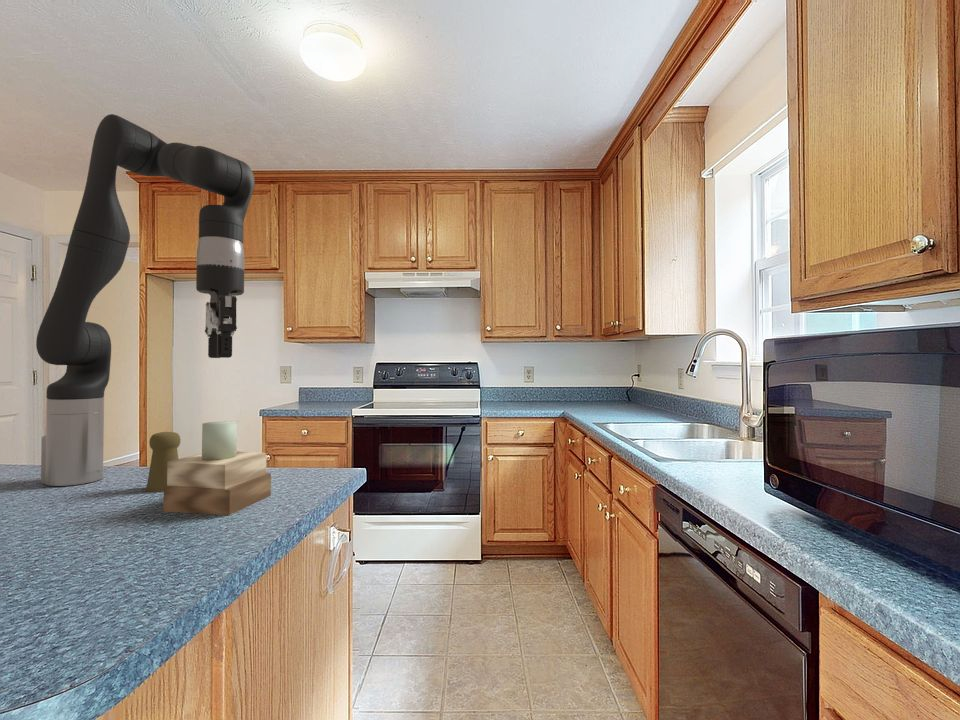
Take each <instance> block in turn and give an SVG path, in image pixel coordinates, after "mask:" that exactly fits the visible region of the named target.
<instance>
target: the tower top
mask: <svg viewBox="0 0 960 720" xmlns="http://www.w3.org/2000/svg"><path fill="white" fill-rule="evenodd" d="M266 473H267V452H258V451H257V452H255V451H238V450H236V457H233V458H229V459H221V460H205V459H202V453H198V454H193V455H190V456H185V457H182V458H178V459H177V460H173V461H169V462H167V486H182V487H197V488H213V489H227V488H230V487H232V486H235V485H238V484H241V483H244V482H246V481H249V480H252V479H255V478H257V477H260V476H263V475H266Z"/></svg>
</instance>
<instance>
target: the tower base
mask: <svg viewBox="0 0 960 720" xmlns="http://www.w3.org/2000/svg"><path fill="white" fill-rule="evenodd" d="M271 489H272V473H268V472H266V475H263V476H260V477H257V478H255V479H252V480H249V481H246V482H244V483H241V484H238V485H235V486H232V487H230V488H227V489H213V488H197V487H182V486H164V492H163V504H162V505H163V507H162V508H163V509H162V512H164V513H178V512H180V514H182V513H183V514H197V513H199V515H215V514H216V515H217V516H231V515H234V514H235V513H237V512H239V511H242V510H244V509H246V508H248V507H251V506H252V505H255V504H256V503H259V502H260V501H263V500H264V499H267V498H269V497H271V496H272V494H271V493H272V491H271ZM262 499H263V500H262ZM216 515H215V516H216Z"/></svg>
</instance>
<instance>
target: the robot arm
mask: <svg viewBox="0 0 960 720" xmlns="http://www.w3.org/2000/svg"><path fill="white" fill-rule="evenodd" d="M118 167H120V168H122V169H125V170H127V171H129V172H131V173H133V174H136V175H139V176H144V177H163V178H164V177H165V178H170V179H172V180H174V181H177V182H180V183H182V184H186V185H188V186H192V187H196V188H198V189H200V190H201V189H202V190H204V191H208V192H210V193H213V194H216V195H219V196H223V198H224V201H223V203H222V204H207V205H203V206H201V208H200V210H199V213H198V215H199V216H198V243H197V249H196V272H195V273H196V279H195V280H196V281H195V290H196V291H197V292H198V293H201V294H207V295H209V296H210V297H209V299H210V300H209V301H206V303H205V329H204V333H205V335H206V337H207V338H208V340H207V341H208V342H207V346H208V347H207V357H208V358H209V359H221V358H228V359H229V358H232V357H233V336H234V335H235V332H237V329H238V326H237V302H238V298H237V296H242V295H243V294H244V293H245V261H246V260H245V251H244V224H245V223H244V222H245V217H246V214H247V213H248V212H247V211H248V207H249V205H250V201H251V198H252V195H253V192H254V189H255V185H256V184H255V183H256V182H255V180H256V179H255V176H254V172H253V170H252V168H251V167H250V166H249V165H248V164H247V163H246V162H244V161H243V160H241V159H238V158H235V157H233V156H230V155H228V154H225V153H223V152H220V151H219V150H216V149H213V148H212V147H211V148H210V147H206V146H204V145H203V146H202V145H196V146H195V145H190V144H186V143H182V142H169V143H167V142H166V141H164V140H162V139H161V138H159V137H158V136H156V134H154V133H152V132H151V131H149V130H147V129H146V128H143V127H141V126H140V125H137V124H135V123H134V122H132V121H129V120H127V118H124V117H122V116H120V115H117V114H114V113H111V114H107V115H106V116H104V117H103V119H101V121H100V122H99V125H98V126H97V129H96V131H95V134H94V139H93V144H92V147H91V154H90V160H89V166H88V172H87V175H86V176H87V178H86V183H85V187H84V191H83V194H82V198H81V202H80V205H79V207H78V208H79V209H78V212H77V214H76V217H75V218H76V219H75V221H74V224H73V227H72V231H71V234H70V238H69V241H68V245H67V249H66V254H65V258H64V261H63V265H62V269H61V272H60V274H59V278H58V280H57V285H56V287H55V290H54V292H53V295H52V297H51V300H50V303H49V305H48V307H47V308H46V311H45V314H44V316H43V319H42V320H41V323H40V326H39V328H38V331H37V335H36V341H35V347H36V351H37V353H38V356H39V357H40V358H41V360H42V361H44V362H45V363H47V364H50V365H54V366H66V369H65V373H64V375H63V376H61V378H59V379H58V380H56V381H54V382H52V383H50V384H48V386H47V387H46V395H45V396H46V407H45V408H46V409H45V410H46V412H45V414H46V415H45V417H46V419H45V420H46V421H45V435H43V436H41V441H40V442H41V444H40V445H41V449H40V450H41V453H40V456H41V457H40V461H41V462H40V484H44V485H46V486H49V487H50V486H51V487H63V486H64V487H65V486H75V485H81V484H87V483H92V482H93V483H94V482H96V481H99V480H103V478H104V444H105V443H104V442H105V441H104V440H105V439H104V437H105V435H104V434H105V432H104V431H105V425H104V424H105V391H106V388H107V387H108V384H109V381H110V372H111V371H110V370H111V360H112V340H111V336H110V334H109V332H108V331H107V329H106V328H105V327H104V326H102V325H101V324H99V323H96V322H90V321H86V320H87V317H88V313H89V310H90V308H91V305H92V303H93V302H94V300H95V299H96V297H97V296H98V294H99V293H100V292H101V291H102V290H103V289H104V288H105V287H106V286H107V285H108V284H109V283H110V282H111V281H112V280H113V279H114V278H115V277H116V275H117V274H119V272H120V271H121V269H122V267H123V265H124V262H125V259H126V255H127V252H128V249H129V244H130V241H131V233H130V228H129V225H128V222H127V218H126V217H125V213H124V211H123V208H122V205H121V202H120V200H119V197H118V193H117V185H116V182H117V181H116V179H117V178H116V177H117V170H118Z"/></svg>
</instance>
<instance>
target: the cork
mask: <svg viewBox="0 0 960 720" xmlns="http://www.w3.org/2000/svg"><path fill="white" fill-rule="evenodd" d="M180 445H181V436H180V434H179V433H178V432H174V431H162V432H157V433H154V434H152V435H151V436H150V438H149V447H150V449H151V450H152V453H151V459H150V465H149V471H148V477H147V484H146V488H145V489H146V492H149V493H164V486H167V462H169V461H173V460H177V459H179V454H178V448H179V446H180Z"/></svg>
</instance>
